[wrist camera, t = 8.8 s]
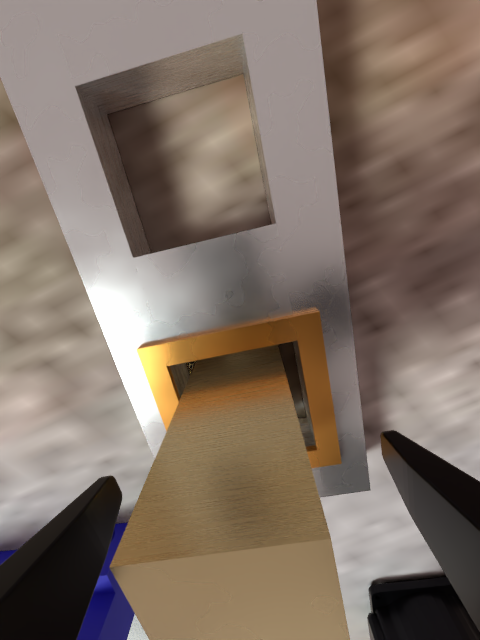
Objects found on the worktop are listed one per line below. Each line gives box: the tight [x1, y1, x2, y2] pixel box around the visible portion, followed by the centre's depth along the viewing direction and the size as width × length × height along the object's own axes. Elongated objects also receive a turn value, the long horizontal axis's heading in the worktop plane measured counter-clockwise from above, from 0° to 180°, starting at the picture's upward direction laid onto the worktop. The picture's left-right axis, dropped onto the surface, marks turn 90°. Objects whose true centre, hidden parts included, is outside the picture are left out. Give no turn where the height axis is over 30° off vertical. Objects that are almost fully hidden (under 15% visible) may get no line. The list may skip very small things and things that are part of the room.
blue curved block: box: [0, 523, 135, 640], centre depth 16 cm, size 12×4×6 cm, turn 100°
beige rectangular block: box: [109, 344, 350, 640], centre depth 9 cm, size 4×4×9 cm
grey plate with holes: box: [0, 0, 370, 497], centre depth 11 cm, size 10×22×2 cm, turn 13°
